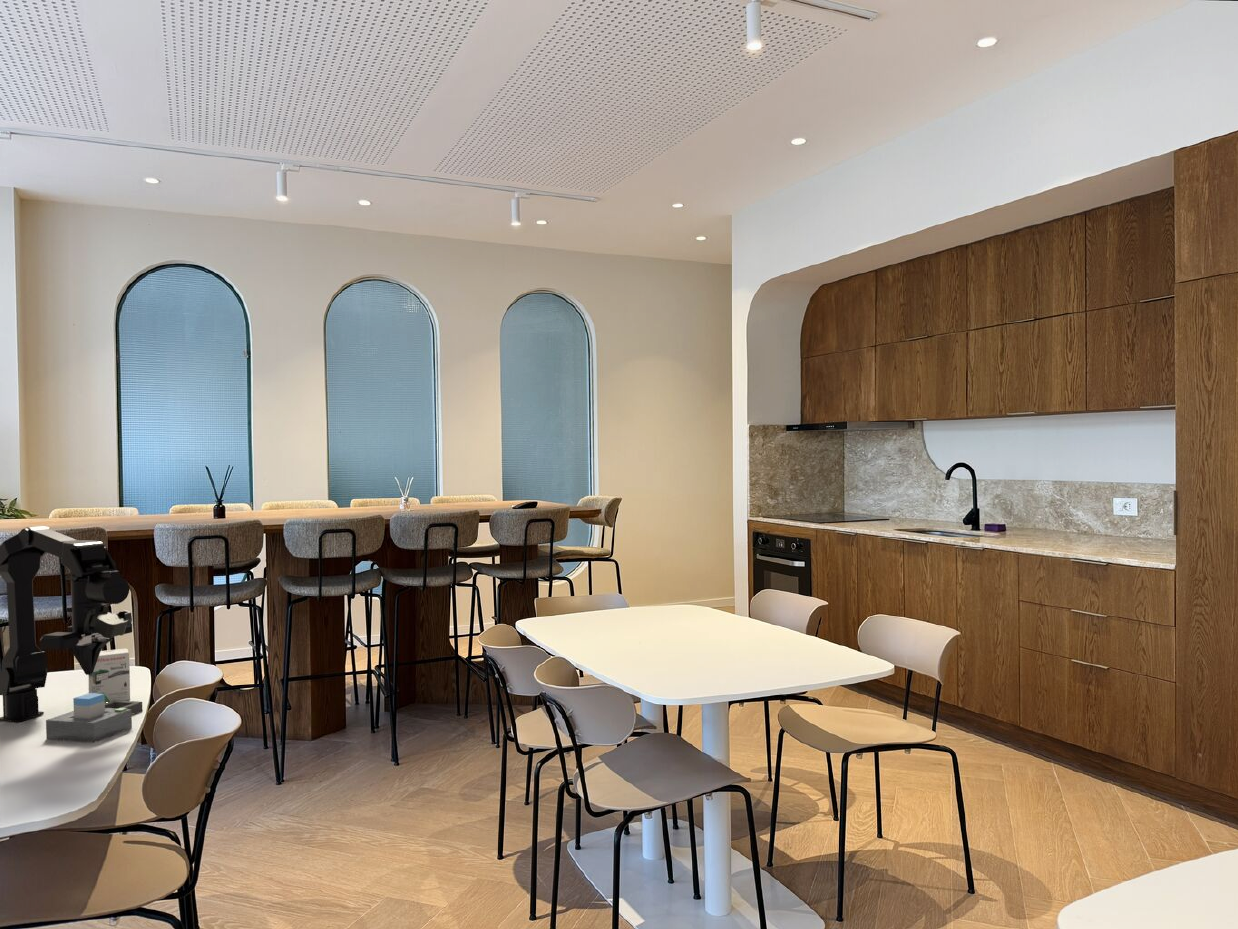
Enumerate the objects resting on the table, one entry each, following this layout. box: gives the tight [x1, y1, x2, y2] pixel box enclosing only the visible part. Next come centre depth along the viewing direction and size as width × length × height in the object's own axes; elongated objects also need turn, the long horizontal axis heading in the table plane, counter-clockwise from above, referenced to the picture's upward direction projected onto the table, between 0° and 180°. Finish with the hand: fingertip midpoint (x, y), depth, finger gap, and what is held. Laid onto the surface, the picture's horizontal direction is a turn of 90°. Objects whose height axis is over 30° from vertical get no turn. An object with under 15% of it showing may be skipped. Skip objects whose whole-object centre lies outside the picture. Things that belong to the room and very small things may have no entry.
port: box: [45, 708, 133, 744], centre depth 189 cm, size 12×10×4 cm
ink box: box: [88, 648, 131, 703], centre depth 215 cm, size 9×5×12 cm, turn 123°
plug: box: [72, 692, 105, 719], centre depth 189 cm, size 4×4×8 cm
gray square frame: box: [105, 700, 143, 715], centre depth 203 cm, size 8×8×2 cm
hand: (89, 674), depth 190 cm, fingers closed
